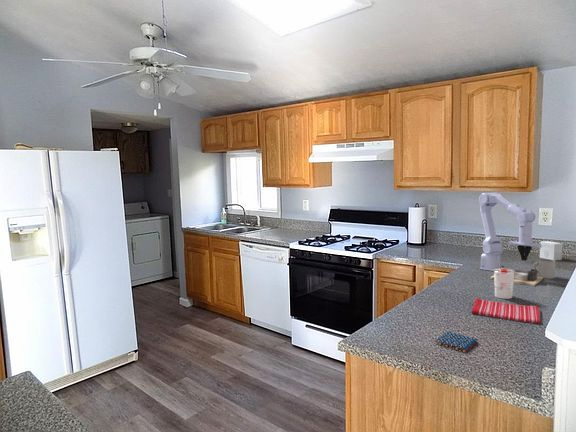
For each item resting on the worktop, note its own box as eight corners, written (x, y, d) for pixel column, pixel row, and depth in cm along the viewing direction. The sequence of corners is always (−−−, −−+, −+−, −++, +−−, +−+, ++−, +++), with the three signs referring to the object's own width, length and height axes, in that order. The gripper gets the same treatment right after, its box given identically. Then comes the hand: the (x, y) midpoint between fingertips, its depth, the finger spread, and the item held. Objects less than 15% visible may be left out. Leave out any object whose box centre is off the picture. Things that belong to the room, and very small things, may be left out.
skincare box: (562, 260, 243) (562, 243, 242) (553, 260, 241) (554, 244, 240) (547, 256, 253) (548, 240, 252) (539, 257, 251) (539, 241, 250)
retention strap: (498, 271, 208) (498, 267, 208) (500, 270, 210) (500, 266, 210) (532, 276, 197) (532, 272, 197) (533, 275, 199) (534, 270, 199)
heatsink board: (490, 279, 205) (490, 268, 205) (500, 273, 216) (500, 262, 216) (534, 286, 191) (534, 274, 190) (542, 279, 202) (543, 268, 202)
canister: (505, 300, 171) (506, 274, 170) (487, 295, 179) (488, 270, 177) (519, 297, 176) (520, 270, 174) (501, 292, 183) (502, 267, 182)
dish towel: (475, 303, 171) (475, 297, 171) (540, 311, 158) (540, 305, 158) (470, 315, 157) (470, 309, 157) (540, 326, 144) (540, 319, 144)
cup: (554, 279, 201) (555, 262, 200) (531, 277, 207) (532, 260, 206) (555, 276, 207) (556, 259, 206) (533, 274, 213) (533, 257, 212)
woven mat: (447, 335, 138) (447, 329, 138) (478, 344, 131) (479, 338, 131) (433, 344, 131) (433, 339, 131) (466, 354, 124) (466, 348, 123)
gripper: (507, 234, 205) (506, 259, 207) (539, 236, 195) (538, 263, 197) (511, 232, 210) (510, 257, 212) (543, 235, 200) (541, 261, 201)
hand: (524, 260), depth 204 cm, fingers closed
